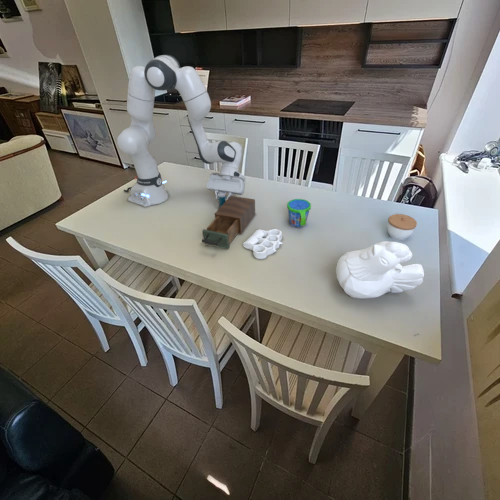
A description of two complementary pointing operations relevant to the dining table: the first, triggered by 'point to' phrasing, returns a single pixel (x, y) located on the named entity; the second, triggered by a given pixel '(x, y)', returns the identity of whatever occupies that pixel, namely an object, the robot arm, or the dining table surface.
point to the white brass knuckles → (264, 242)
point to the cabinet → (238, 210)
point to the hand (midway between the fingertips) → (222, 200)
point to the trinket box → (400, 226)
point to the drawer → (221, 232)
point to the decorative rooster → (378, 271)
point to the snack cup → (298, 211)
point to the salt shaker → (221, 198)
